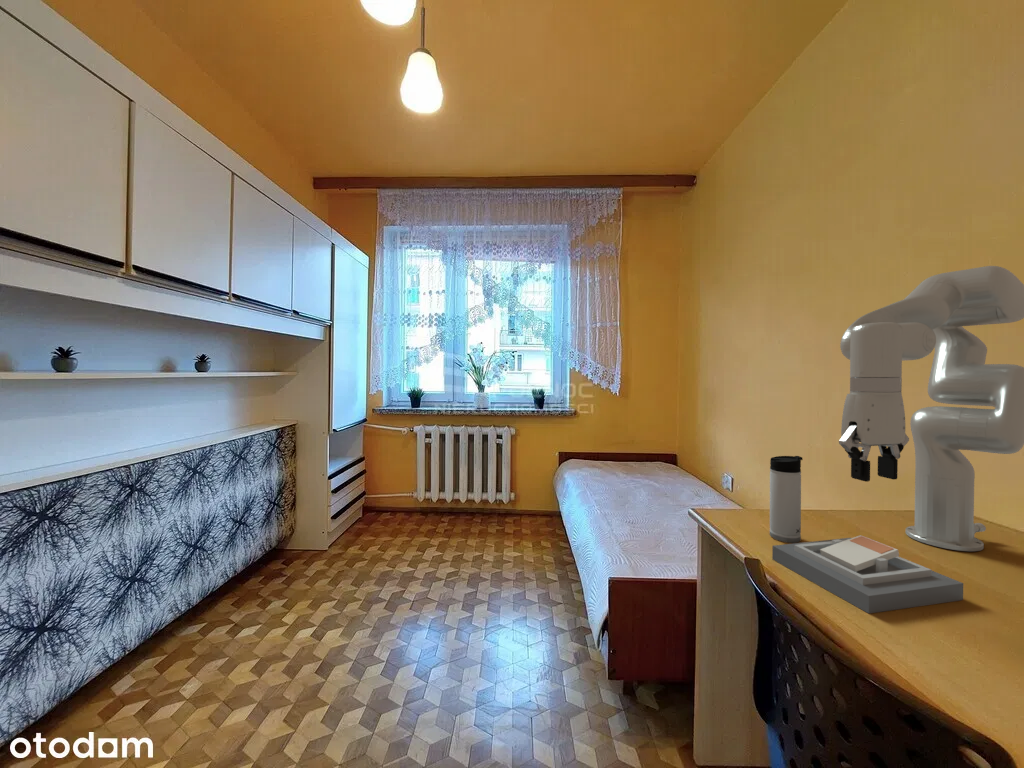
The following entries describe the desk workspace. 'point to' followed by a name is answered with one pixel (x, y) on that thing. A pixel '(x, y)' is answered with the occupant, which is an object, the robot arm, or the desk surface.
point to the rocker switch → (858, 552)
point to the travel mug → (785, 498)
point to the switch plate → (870, 578)
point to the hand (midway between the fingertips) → (873, 477)
